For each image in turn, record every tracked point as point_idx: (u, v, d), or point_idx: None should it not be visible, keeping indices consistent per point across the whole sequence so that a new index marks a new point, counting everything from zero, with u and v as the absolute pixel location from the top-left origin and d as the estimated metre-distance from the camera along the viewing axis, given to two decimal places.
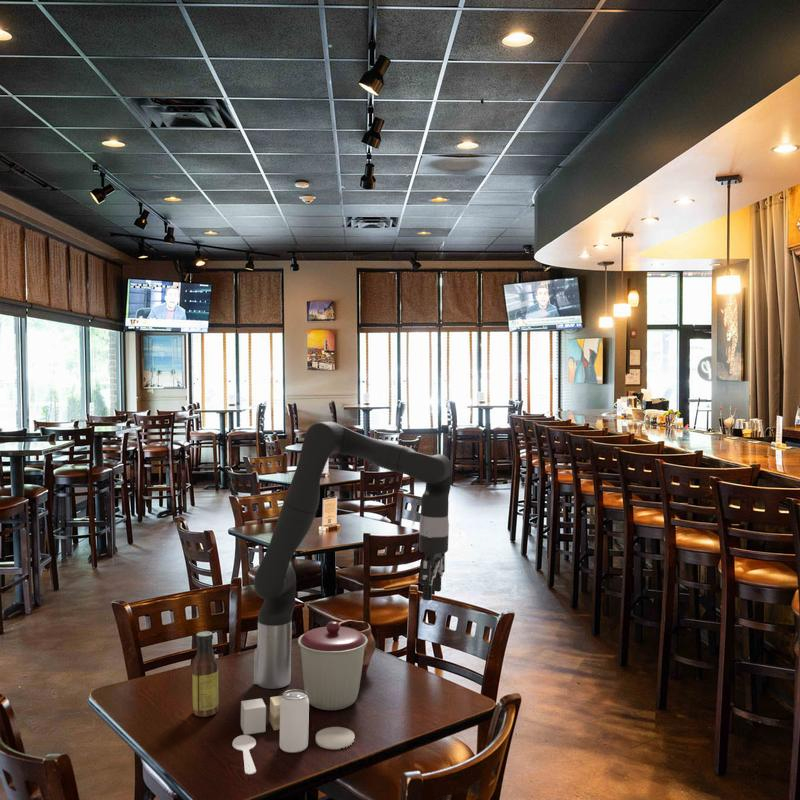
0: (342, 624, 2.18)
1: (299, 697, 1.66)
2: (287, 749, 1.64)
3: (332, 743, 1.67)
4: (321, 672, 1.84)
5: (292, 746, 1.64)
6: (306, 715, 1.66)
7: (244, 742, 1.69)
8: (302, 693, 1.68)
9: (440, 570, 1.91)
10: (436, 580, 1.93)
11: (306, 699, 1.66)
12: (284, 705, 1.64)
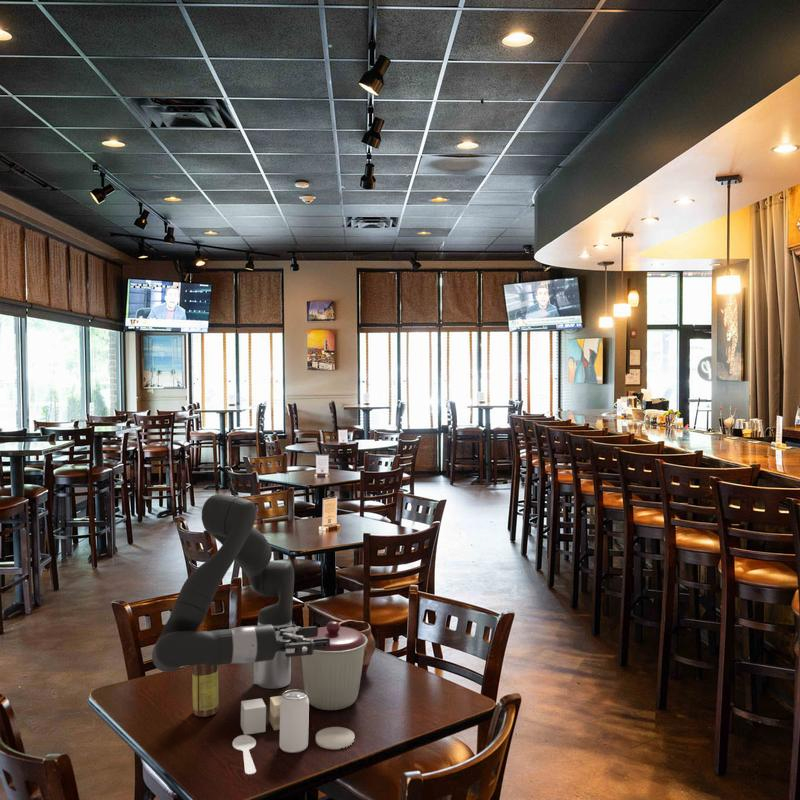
0: (342, 624, 2.18)
1: (299, 697, 1.66)
2: (287, 749, 1.64)
3: (332, 743, 1.67)
4: (321, 672, 1.84)
5: (293, 746, 1.64)
6: (306, 715, 1.66)
7: (244, 742, 1.69)
8: (302, 694, 1.68)
9: None
10: None
11: (306, 699, 1.66)
12: (284, 705, 1.64)
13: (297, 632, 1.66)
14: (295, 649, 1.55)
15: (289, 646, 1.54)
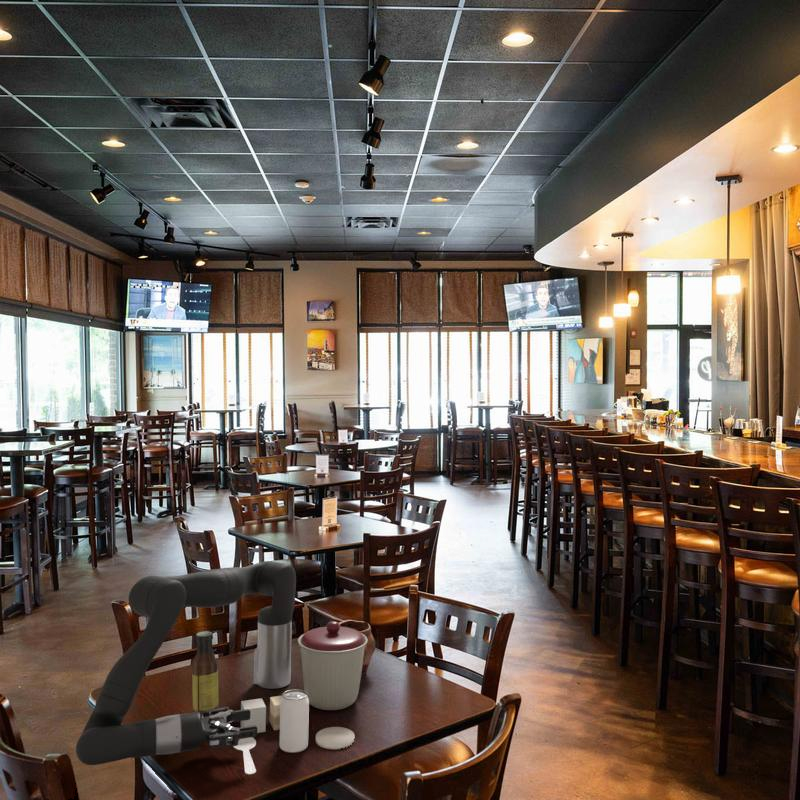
0: (342, 624, 2.18)
1: (299, 697, 1.66)
2: (287, 749, 1.64)
3: (332, 743, 1.67)
4: (321, 672, 1.84)
5: (293, 746, 1.64)
6: (306, 715, 1.66)
7: (244, 742, 1.69)
8: (302, 693, 1.68)
9: None
10: None
11: (306, 699, 1.66)
12: (284, 705, 1.64)
13: (229, 716, 1.66)
14: (219, 741, 1.54)
15: (213, 738, 1.54)
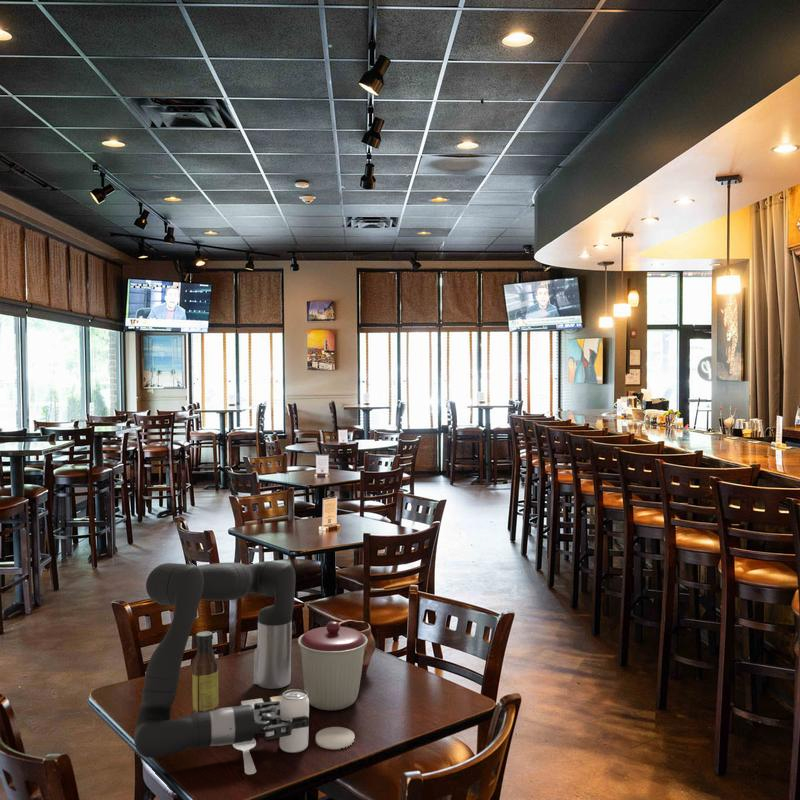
0: (342, 624, 2.18)
1: (299, 697, 1.66)
2: (287, 749, 1.64)
3: (332, 743, 1.67)
4: (321, 672, 1.84)
5: (293, 746, 1.64)
6: (306, 715, 1.66)
7: (244, 742, 1.69)
8: (302, 693, 1.68)
9: None
10: None
11: (306, 699, 1.66)
12: (284, 705, 1.64)
13: None
14: (274, 731, 1.59)
15: (268, 729, 1.58)
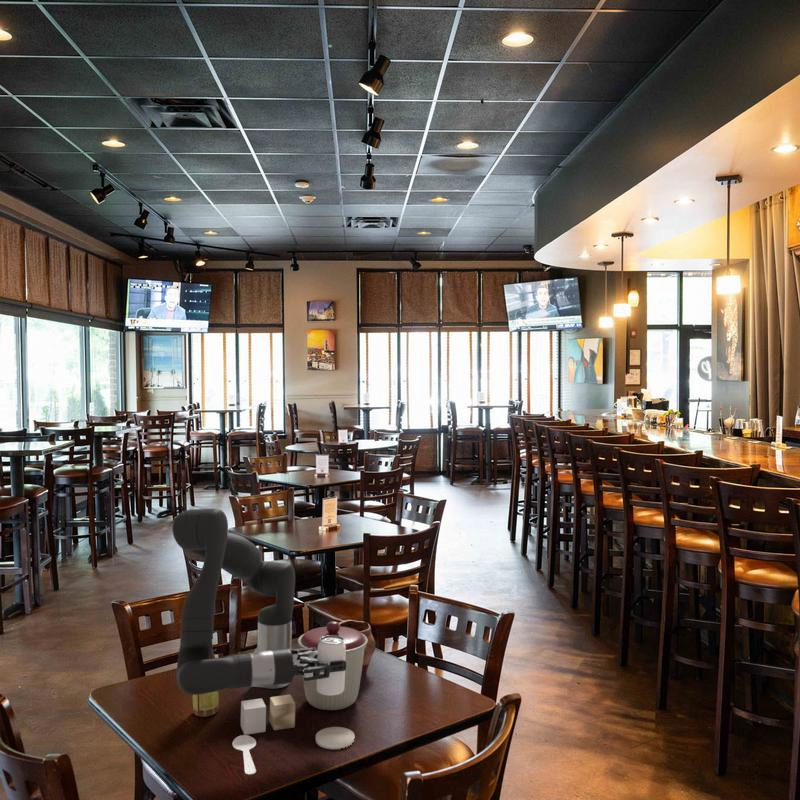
0: (342, 624, 2.18)
1: (336, 642, 1.69)
2: (324, 692, 1.67)
3: (332, 743, 1.67)
4: None
5: (330, 689, 1.67)
6: (343, 659, 1.69)
7: (244, 742, 1.69)
8: (338, 639, 1.71)
9: None
10: None
11: (343, 644, 1.69)
12: (322, 649, 1.67)
13: None
14: (313, 673, 1.62)
15: (308, 671, 1.61)
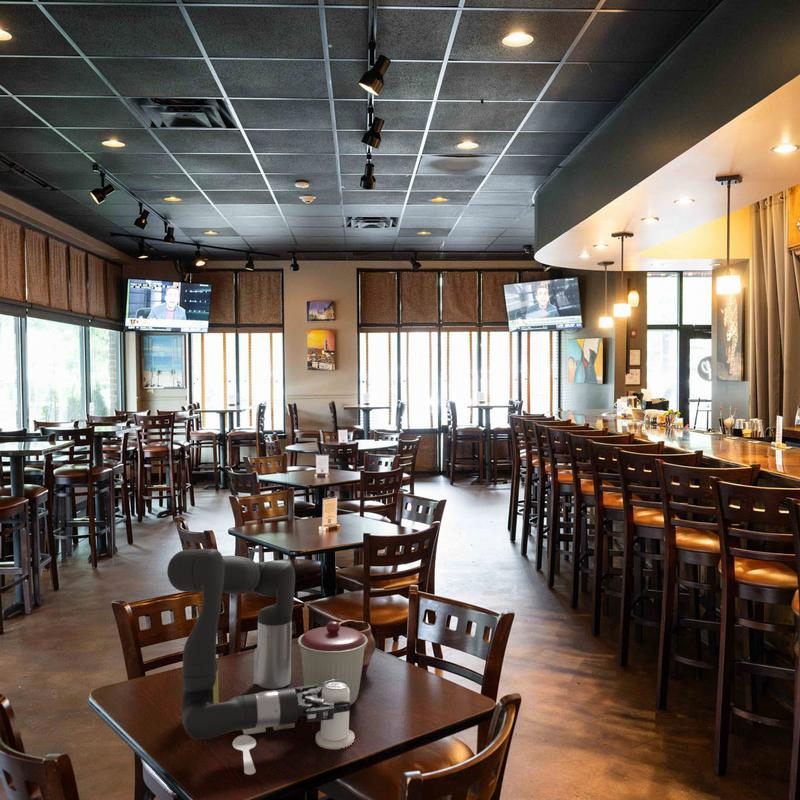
0: (342, 624, 2.18)
1: (340, 687, 1.70)
2: (329, 737, 1.68)
3: (332, 743, 1.67)
4: (321, 672, 1.84)
5: (334, 734, 1.67)
6: None
7: (244, 742, 1.69)
8: (342, 684, 1.72)
9: None
10: None
11: (347, 689, 1.70)
12: (326, 695, 1.68)
13: (319, 693, 1.74)
14: (316, 714, 1.62)
15: (310, 712, 1.61)
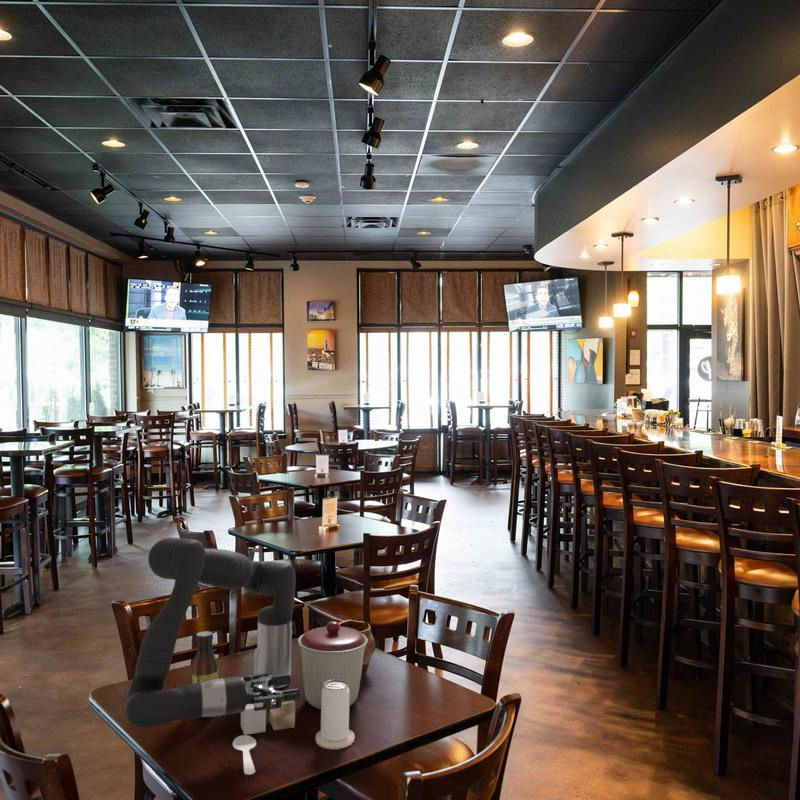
0: (342, 624, 2.18)
1: (340, 687, 1.70)
2: (329, 737, 1.68)
3: (332, 743, 1.67)
4: (321, 672, 1.84)
5: (334, 734, 1.67)
6: (347, 705, 1.69)
7: (245, 742, 1.69)
8: (342, 684, 1.72)
9: None
10: None
11: (347, 689, 1.70)
12: (326, 695, 1.68)
13: (270, 681, 1.69)
14: (263, 703, 1.58)
15: (257, 700, 1.57)
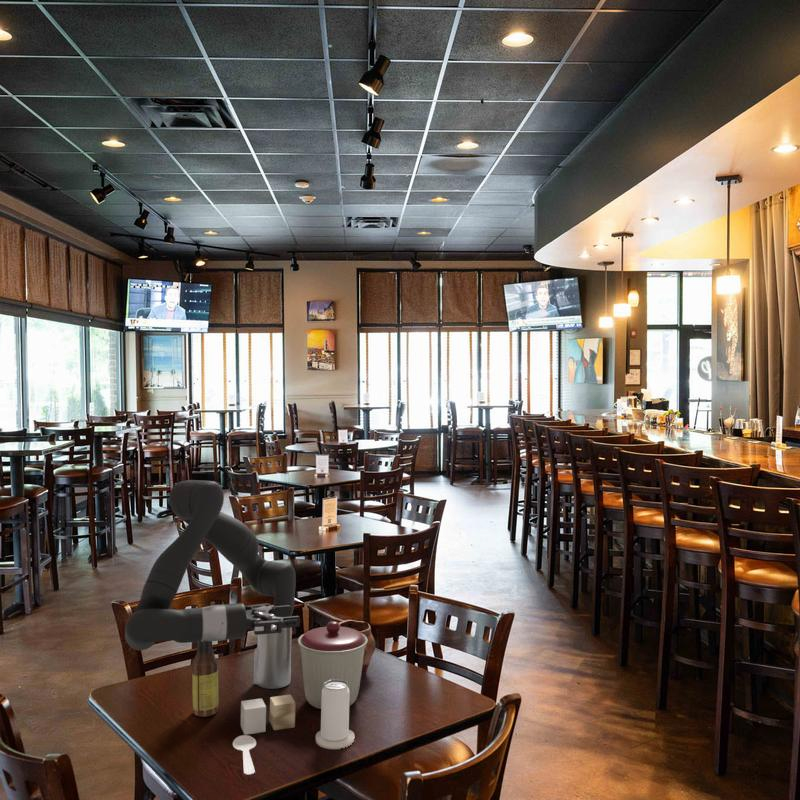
0: (342, 624, 2.18)
1: (340, 687, 1.70)
2: (329, 737, 1.68)
3: (332, 743, 1.67)
4: (321, 672, 1.84)
5: (334, 734, 1.67)
6: (347, 705, 1.69)
7: (245, 742, 1.69)
8: (342, 684, 1.72)
9: None
10: None
11: (347, 689, 1.70)
12: (326, 695, 1.68)
13: (270, 611, 1.69)
14: (264, 627, 1.57)
15: (258, 624, 1.57)
